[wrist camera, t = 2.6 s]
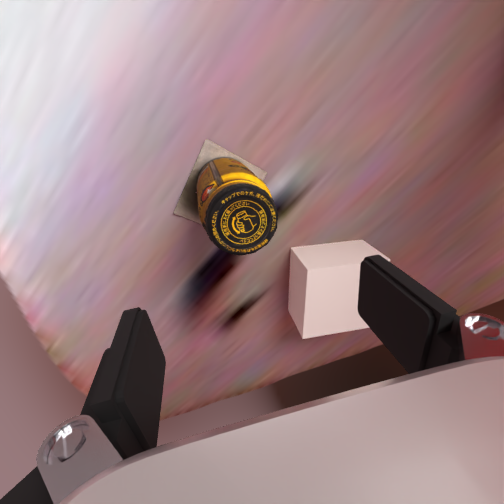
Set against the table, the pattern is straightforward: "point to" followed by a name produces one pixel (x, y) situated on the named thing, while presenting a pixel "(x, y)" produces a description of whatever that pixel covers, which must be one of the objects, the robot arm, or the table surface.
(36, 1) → the table surface
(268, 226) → the condiment
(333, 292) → the cream block
